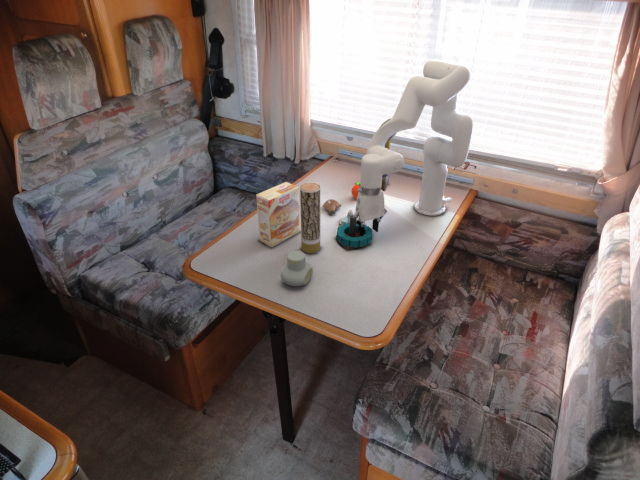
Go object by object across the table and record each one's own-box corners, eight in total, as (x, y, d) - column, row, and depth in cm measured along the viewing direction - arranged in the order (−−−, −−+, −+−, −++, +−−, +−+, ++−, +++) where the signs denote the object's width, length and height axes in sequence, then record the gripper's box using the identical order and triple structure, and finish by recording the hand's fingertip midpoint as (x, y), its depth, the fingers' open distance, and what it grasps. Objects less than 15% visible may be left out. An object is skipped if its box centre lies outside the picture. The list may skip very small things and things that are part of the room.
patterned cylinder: (306, 256, 158) (305, 192, 145) (298, 246, 164) (296, 184, 150) (323, 251, 161) (323, 188, 148) (315, 242, 166) (314, 181, 153)
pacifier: (335, 224, 177) (348, 228, 174) (335, 210, 174) (349, 214, 171) (345, 217, 182) (358, 221, 179) (345, 203, 179) (358, 207, 176)
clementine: (347, 195, 199) (347, 181, 195) (361, 192, 201) (361, 178, 197) (355, 203, 193) (356, 188, 189) (369, 200, 195) (370, 185, 191)
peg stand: (356, 233, 172) (357, 209, 166) (368, 244, 165) (370, 219, 159) (335, 238, 168) (336, 214, 163) (347, 250, 162) (348, 225, 156)
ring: (360, 225, 174) (361, 219, 172) (378, 241, 164) (379, 235, 162) (330, 233, 169) (330, 227, 167) (347, 250, 159) (347, 244, 157)
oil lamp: (317, 213, 187) (333, 219, 183) (316, 205, 184) (332, 211, 180) (330, 202, 192) (345, 208, 188) (329, 195, 190) (345, 200, 186)
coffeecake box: (271, 247, 163) (268, 200, 152) (259, 240, 167) (254, 194, 157) (300, 232, 172) (299, 186, 162) (287, 225, 176) (285, 180, 166)
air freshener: (292, 268, 152) (291, 244, 147) (315, 274, 149) (314, 249, 144) (278, 286, 144) (276, 261, 138) (301, 293, 141) (300, 267, 136)
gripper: (354, 198, 152) (353, 242, 162) (396, 188, 158) (392, 231, 168) (344, 189, 158) (343, 233, 168) (385, 180, 164) (382, 222, 174)
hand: (368, 231), depth 168 cm, fingers open, 5 cm apart
